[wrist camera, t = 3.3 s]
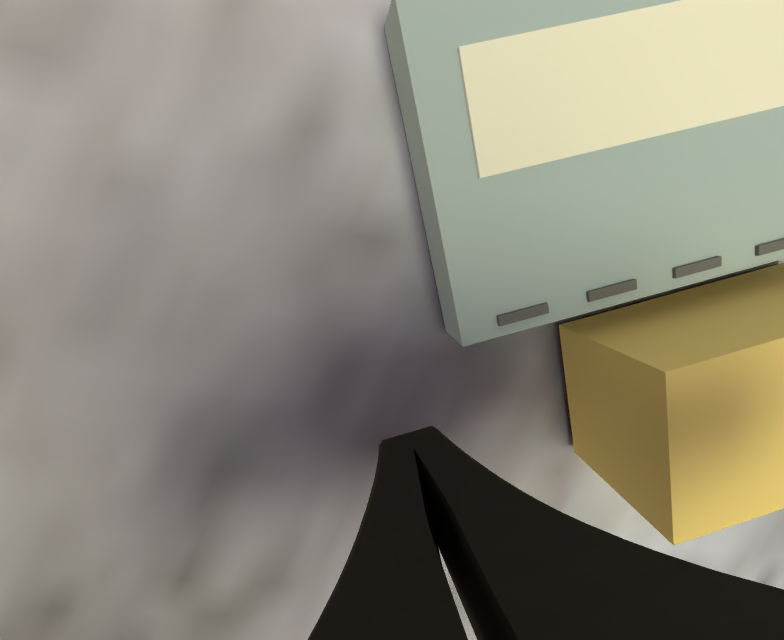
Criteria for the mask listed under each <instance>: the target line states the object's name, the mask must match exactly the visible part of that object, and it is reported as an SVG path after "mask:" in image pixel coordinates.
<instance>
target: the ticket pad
mask: <svg viewBox="0 0 784 640" xmlns="http://www.w3.org/2000/svg"><path fill="white" fill-rule="evenodd" d="M384 30H385V35H386V40H387V45H388V50H389V55H390V60H391V65H392V69H393V74H394V79H395V84H396V89H397V94H398V99H399V104H400V109H401V114H402V118H403V123H404V128H405V133H406V138H407V143H408V148H409V153H410V158H411V163H412V167H413V172H414V177H415V182H416V187H417V192H418V197H419V202H420V207H421V212H422V216H423V221H424V226H425V231H426V236H427V241H428V246H429V251H430V256H431V261H432V265H433V270H434V275H435V280H436V285H437V290H438V295H439V300H440V305H441V309H442V314H443V319H444V324H445V329H446V332H447V333H449V334H450V335H451V336H452V337H453V338H454V339H455V340H456V341H457V342H458V343H459V344H460V345H461V346H462V347H465V346H469V345H472V344H476V343H479V342H483V341H487V340H490V339H494V338H498V337H501V336H505V335H509V334H512V333H516V332H519V331H523V330H527V329H530V328H534V327H538V326H541V325H545V324H549V323H552V322H556V321H559V320H563V319H567V318H570V317H574V316H578V315H581V314H585V313H589V312H592V311H596V310H599V309H603V308H607V307H610V306H614V305H618V304H621V303H625V302H629V301H632V300H636V299H639V298H643V297H647V296H650V295H654V294H658V293H661V292H665V291H669V290H672V289H676V288H679V287H683V286H687V285H690V284H694V283H698V282H701V281H705V280H709V279H712V278H716V277H719V276H723V275H727V274H730V273H734V272H738V271H741V270H745V269H748V268H752V267H756V266H759V265H763V264H767V263H770V262H774V261H778V260H781V259H784V0H392V1H391V5H390V9H389V13H388V16H387V20H386V24H385V28H384Z"/></svg>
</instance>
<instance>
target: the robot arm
mask: <svg viewBox="0 0 784 640" xmlns="http://www.w3.org/2000/svg"><path fill="white" fill-rule="evenodd" d="M438 547H439V548H438ZM439 549H440V552H441V554H442V557H443V559H444V561H445V564H446V566H447V569H448V571H449V573H450V576H451V578H452V580H453V583H454V585H455V588H456V590H457V592H458V595H459V597H460V599H461V602H462V604H463V607H464V609H465V611H466V614H467V616H468V618H469V621H470V623H471V626H472V628H473V630H474V633H475V635H476V637H477V640H784V590H783V589H780V588H776V587H772V586H769V585H765V584H762V583H758V582H754V581H751V580H747V579H743V578H740V577H736V576H732V575H729V574H725V573H721V572H718V571H715V570H712V569H708V568H705V567H702V566H699V565H696V564H693V563H690V562H687V561H684V560H681V559H678V558H675V557H672V556H669V555H666V554H663V553H660V552H657V551H654V550H652V549H649V548H646V547H644V546H641V545H638V544H635V543H633V542H630V541H627V540H625V539H622V538H620V537H617V536H615V535H613V534H610V533H608V532H605V531H603V530H600V529H598V528H596V527H593V526H591V525H588V524H586V523H584V522H581V521H579V520H577V519H575V518H573V517H570V516H568V515H566V514H564V513H562V512H560V511H558V510H556V509H554V508H552V507H550V506H548V505H546V504H544V503H542V502H540V501H539V500H537V499H535V498H533V497H531V496H530V495H528V494H526V493H525V492H523V491H521V490H519V489H518V488H516V487H515V486H513V485H511V484H510V483H508V482H507V481H505V480H503V479H502V478H500V477H499V476H497V475H496V474H494V473H493V472H491V471H490V470H488V469H487V468H486V467H484V466H483V465H481V464H480V463H478V462H477V461H476V460H474V459H473V458H471V457H470V456H469V455H468V454H466V453H465V452H464V451H462V450H461V449H460V448H459V447H457V446H456V445H455V444H454V443H452V442H451V441H450V440H449V439H448V438H447V437H445V436H444V435H443V434H442V433H441V432H440V431H439V430H438V429H436V428H435V427H433V426H430V427H427V428H423V429H420V430H416V431H413V432H409V433H406V434H403V435H399V436H396V437H392V438H389V439H385V440H382V442H381V443H380V445H379V456H378V463H377V468H376V473H375V478H374V482H373V486H372V490H371V493H370V497H369V501H368V504H367V508H366V511H365V514H364V517H363V520H362V522H361V525H360V528H359V531H358V534H357V537H356V540H355V542H354V545H353V547H352V550H351V552H350V555H349V557H348V560H347V562H346V564H345V566H344V569H343V571H342V573H341V575H340V578H339V580H338V582H337V584H336V586H335V588H334V590H333V592H332V594H331V596H330V598H329V600H328V602H327V604H326V606H325V608H324V610H323V612H322V614H321V616H320V618H319V620H318V622H317V624H316V626H315V627H314V629H313V631H312V633H311V635H310V637H309V638H308V640H468V639H467V636H466V633H465V630H464V627H463V625H462V622H461V619H460V616H459V613H458V610H457V607H456V605H455V602H454V599H453V596H452V593H451V590H450V587H449V584H448V581H447V578H446V575H445V573H444V570H443V567H442V562H441V558H440V553H439Z"/></svg>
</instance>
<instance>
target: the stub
mask: <svg viewBox="0 0 784 640" xmlns="http://www.w3.org/2000/svg"><path fill="white" fill-rule="evenodd" d="M559 331H560V339H561V347H562V355H563V364H564V372H565V380H566V388H567V396H568V404H569V413H570V421H571V429H572V437H573V445H574V452H575V453H576V454H577V455H578V456H579V457H580V458H581V459H582V460H583V461H585V462H586V463H587V464H588V465H589V466H590V467H591V468H592V469H593V470H594V471H595V472H596V473H597V474H598V475H599V476H600V477H602V478H603V479H604V480H605V481H606V482H607V483H608V484H609V485H610V486H611V487H612V488H613V489H614V490H615V491H616V492H617V493H619V494H620V495H621V496H622V497H623V498H624V499H625V500H626V501H627V502H628V503H629V504H630V505H631V506H632V507H633V508H634V509H636V510H637V511H638V512H639V513H640V514H641V515H642V516H643V517H644V518H645V519H646V520H647V521H648V522H649V523H650V524H651V525H652V526H654V527H655V528H656V529H657V530H658V531H659V532H660V533H661V534H662V535H663V536H664V537H665V538H666V539H667V540H668V541H669V542H671V543H672V544H673V545H676V544H679V543H682V542H685V541H688V540H691V539H694V538H697V537H700V536H703V535H706V534H709V533H712V532H715V531H718V530H721V529H724V528H727V527H730V526H733V525H736V524H739V523H742V522H745V521H748V520H751V519H754V518H757V517H760V516H763V515H766V514H769V513H772V512H775V511H778V510H781V509H784V263H782V264H778V265H774V266H771V267H767V268H764V269H760V270H756V271H753V272H749V273H745V274H742V275H738V276H735V277H731V278H727V279H724V280H720V281H716V282H713V283H709V284H706V285H702V286H698V287H695V288H691V289H687V290H684V291H680V292H677V293H673V294H669V295H666V296H662V297H658V298H655V299H651V300H648V301H644V302H640V303H637V304H633V305H629V306H626V307H622V308H619V309H615V310H611V311H608V312H604V313H600V314H597V315H593V316H590V317H586V318H582V319H579V320H575V321H572V322H568V323H564V324H561V325H559Z"/></svg>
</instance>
